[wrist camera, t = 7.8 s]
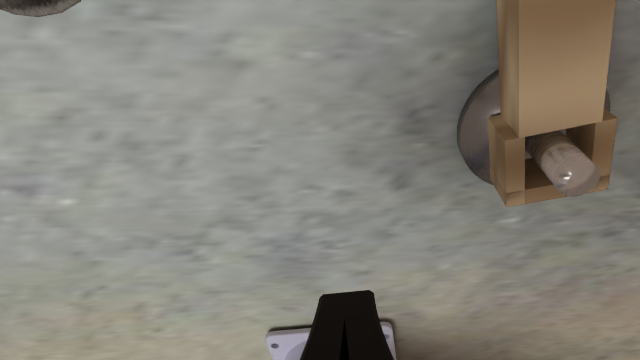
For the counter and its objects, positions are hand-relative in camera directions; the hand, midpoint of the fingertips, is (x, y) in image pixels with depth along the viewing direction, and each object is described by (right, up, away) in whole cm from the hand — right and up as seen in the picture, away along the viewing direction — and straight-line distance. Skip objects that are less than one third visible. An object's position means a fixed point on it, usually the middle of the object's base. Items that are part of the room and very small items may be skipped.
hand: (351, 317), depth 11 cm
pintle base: (+8, +6, +7) cm, 12 cm away
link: (+7, +9, +4) cm, 12 cm away
